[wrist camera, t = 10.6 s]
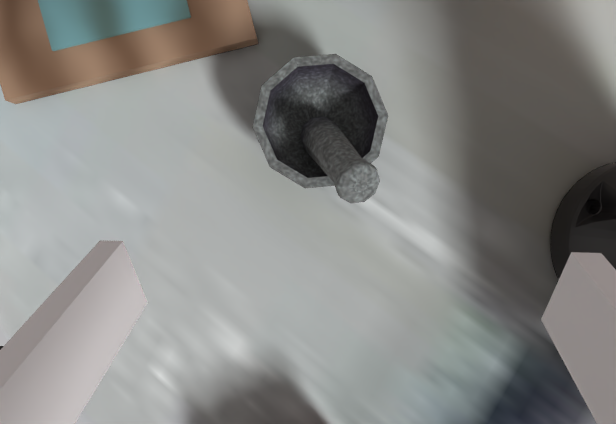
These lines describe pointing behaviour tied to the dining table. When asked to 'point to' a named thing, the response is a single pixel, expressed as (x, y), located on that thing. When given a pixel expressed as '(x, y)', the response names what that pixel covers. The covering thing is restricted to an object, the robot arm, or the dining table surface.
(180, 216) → the dining table surface
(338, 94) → the mortar and pestle
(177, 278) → the dining table surface
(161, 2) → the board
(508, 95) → the dining table surface
